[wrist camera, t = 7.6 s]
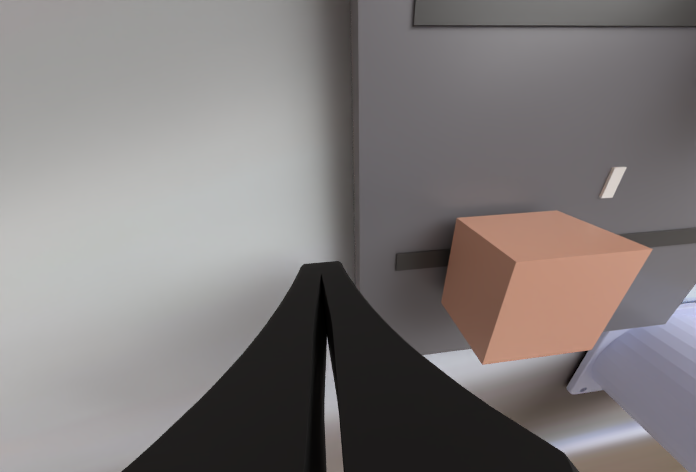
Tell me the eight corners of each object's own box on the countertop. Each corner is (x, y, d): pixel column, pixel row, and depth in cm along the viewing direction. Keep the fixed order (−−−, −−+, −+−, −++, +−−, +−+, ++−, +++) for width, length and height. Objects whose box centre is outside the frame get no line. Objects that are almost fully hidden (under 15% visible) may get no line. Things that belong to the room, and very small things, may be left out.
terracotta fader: (556, 210, 9) (652, 248, 7) (525, 293, 11) (591, 349, 8) (456, 217, 9) (516, 261, 6) (441, 302, 11) (482, 364, 8)
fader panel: (998, -254, 7) (1181, -352, 5) (635, 306, 16) (667, 325, 14) (344, -349, 5) (355, -531, 4) (356, 339, 14) (360, 364, 13)
